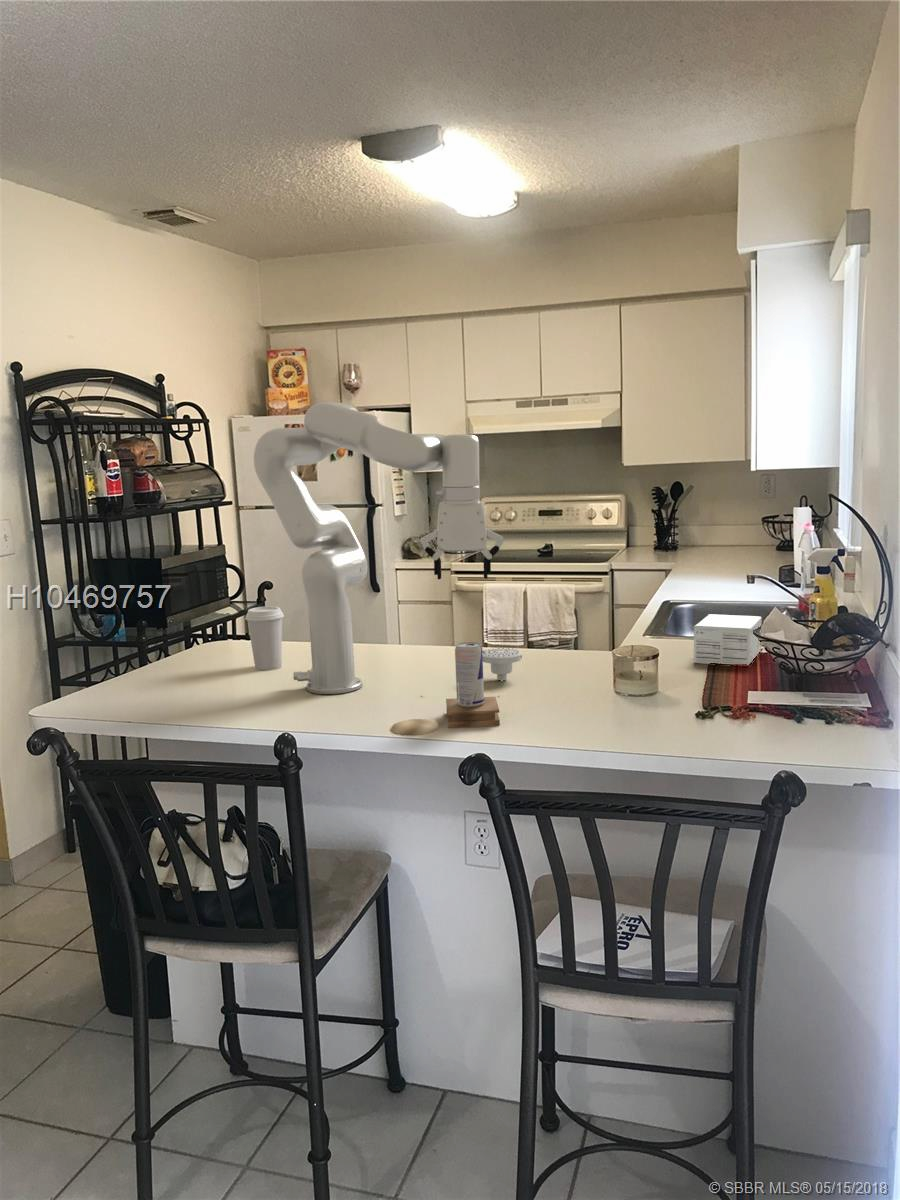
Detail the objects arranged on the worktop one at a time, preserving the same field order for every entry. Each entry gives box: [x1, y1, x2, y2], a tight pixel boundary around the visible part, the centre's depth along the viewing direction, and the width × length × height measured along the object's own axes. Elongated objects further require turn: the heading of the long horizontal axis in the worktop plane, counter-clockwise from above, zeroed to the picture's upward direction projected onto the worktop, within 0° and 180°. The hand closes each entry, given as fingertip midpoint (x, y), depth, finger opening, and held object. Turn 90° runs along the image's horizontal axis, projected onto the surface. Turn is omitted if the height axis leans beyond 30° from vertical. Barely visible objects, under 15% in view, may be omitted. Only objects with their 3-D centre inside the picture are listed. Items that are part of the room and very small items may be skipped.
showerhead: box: [482, 647, 523, 681], centre depth 215 cm, size 9×7×10 cm
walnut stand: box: [445, 696, 501, 729], centre depth 186 cm, size 10×10×3 cm
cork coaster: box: [391, 718, 440, 736], centre depth 182 cm, size 9×9×1 cm
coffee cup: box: [245, 605, 285, 671], centre depth 237 cm, size 10×10×15 cm
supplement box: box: [693, 613, 763, 665], centre depth 228 cm, size 17×13×9 cm
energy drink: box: [454, 641, 485, 708], centre depth 184 cm, size 5×5×12 cm
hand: (462, 578), depth 196 cm, fingers open, 9 cm apart
